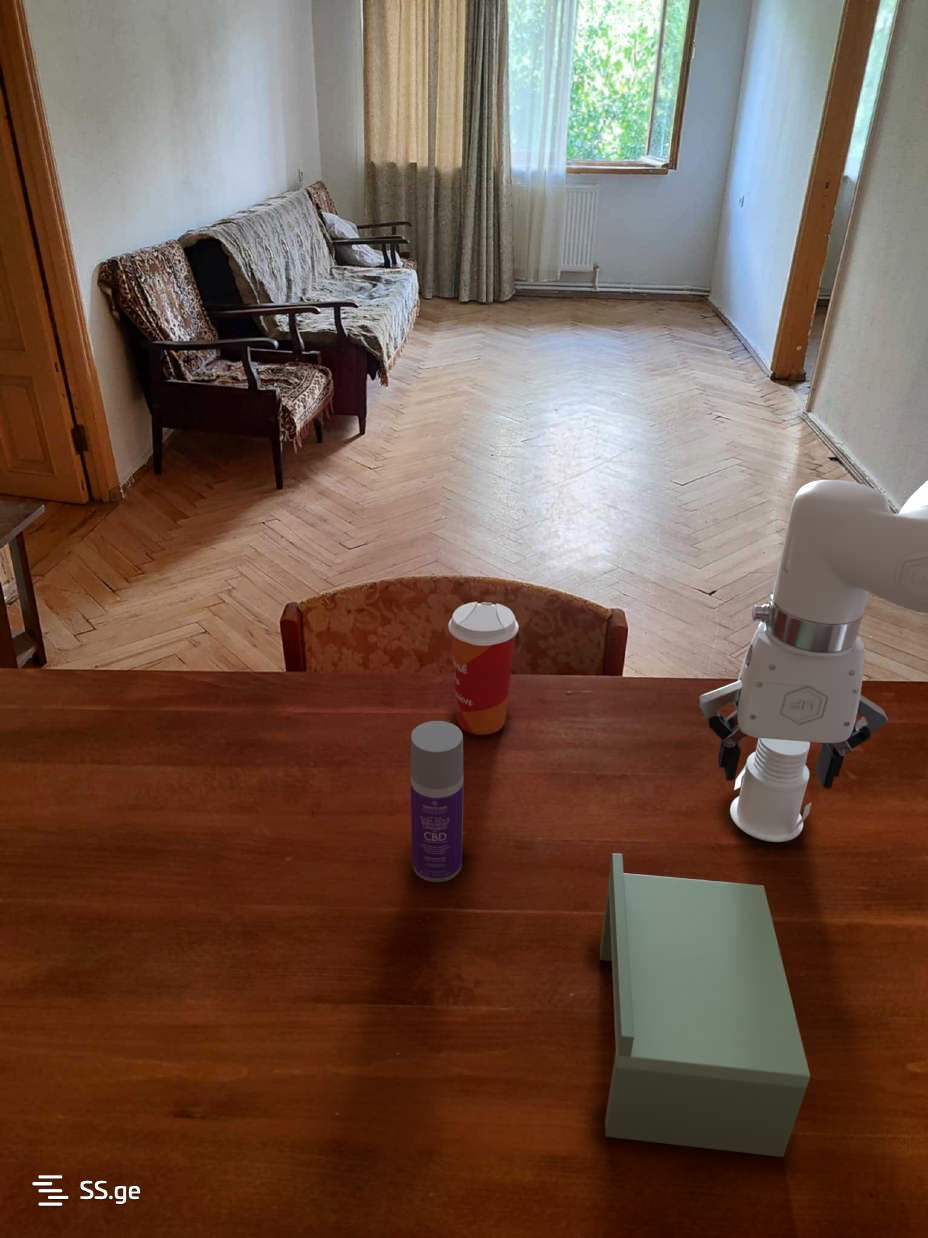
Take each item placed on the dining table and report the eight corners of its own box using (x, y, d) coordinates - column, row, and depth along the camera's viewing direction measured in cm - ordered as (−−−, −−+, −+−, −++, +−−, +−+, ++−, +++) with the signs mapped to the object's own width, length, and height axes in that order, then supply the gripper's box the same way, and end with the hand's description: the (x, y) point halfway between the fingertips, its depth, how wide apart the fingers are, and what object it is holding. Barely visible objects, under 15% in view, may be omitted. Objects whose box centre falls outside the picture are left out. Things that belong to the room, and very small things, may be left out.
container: (423, 888, 80) (421, 758, 73) (405, 854, 84) (401, 727, 77) (470, 873, 82) (472, 745, 75) (450, 840, 86) (451, 714, 78)
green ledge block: (744, 962, 74) (768, 866, 68) (783, 1157, 60) (817, 1057, 54) (599, 948, 75) (612, 853, 69) (605, 1137, 61) (621, 1036, 56)
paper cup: (453, 698, 107) (453, 596, 100) (516, 704, 106) (521, 601, 99) (443, 738, 100) (442, 631, 93) (510, 744, 99) (515, 637, 92)
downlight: (821, 828, 88) (843, 749, 83) (775, 857, 84) (795, 775, 79) (756, 784, 93) (774, 707, 88) (711, 810, 90) (726, 731, 85)
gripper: (717, 636, 75) (689, 793, 84) (930, 651, 73) (878, 809, 82) (706, 595, 81) (680, 745, 90) (901, 607, 80) (856, 758, 89)
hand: (775, 775), depth 86 cm, fingers open, 8 cm apart
